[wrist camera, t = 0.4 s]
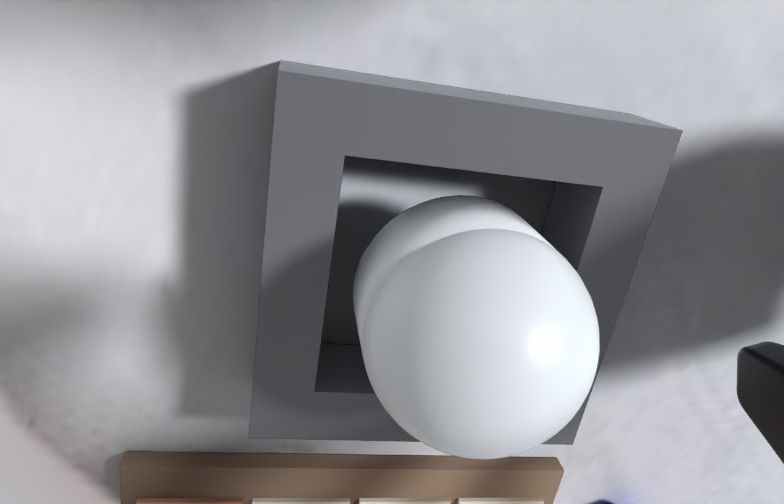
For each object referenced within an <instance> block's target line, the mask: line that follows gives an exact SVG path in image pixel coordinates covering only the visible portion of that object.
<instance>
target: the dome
mask: <svg viewBox="0 0 784 504" xmlns="http://www.w3.org/2000/svg"><path fill="white" fill-rule="evenodd" d="M353 306H354V312H355V317H356V323H357V328H358V333H359V339H360V344H361V349H362V355H363V359H364V364H365V368H366V372H367V375H368V378H369V380H370V383H371V385H372V388H373V390H374V392H375V394H376V395H377V397H378V399H379V400H380V402H381V404H382V405H383V407H384V409H385V410H386V411H387V412H388V413H389V414H390V416H391V417H392V418H393V419H394V420H395V421H396V422H397V424H398V425H399V426H401V427H402V428H403V429H404V430H405V431H406V432H407V433H409V434H410V435H412V436H413V437H414V438H416V439H418V440H419V441H421V442H422V443H424V444H425V445H428V446H430V447H432V448H434V449H436V450H439V451H441V452H444V453H447V454H450V455H453V456H458V457H463V458H472V459H497V458H504V457H509V456H513V455H517V454H519V453H522V452H525V451H528V450H530V449H532V448H534V447H536V446H538V445H540V444H542V443H543V442H545V441H547V440H548V439H550V438H551V437H553V436H554V435H555V434H557V433H558V432H559V431H560V430H561V429H562V428H564V427H565V426H566V425H567V424H568V422H569V421H570V420H571V419H572V418H573V417H574V416H575V414H576V413H577V411H578V410H579V409H580V407H581V405H582V404H583V402H584V400H585V398H586V397H587V395H588V393H589V391H590V388H591V386H592V384H593V381H594V377H595V374H596V370H597V365H598V359H599V352H600V348H599V326H598V320H597V316H596V312H595V308H594V305H593V302H592V299H591V296H590V294H589V293H588V291H587V289H586V287H585V285H584V283H583V281H582V279H581V277H580V276H579V275H578V273H577V272H576V271H575V269H574V268H573V267H572V265H571V264H570V263H569V262H568V261H567V260H566V258H564V257H563V256H562V255H561V254H560V253H559V252H558V251H557V250H556V249H555V248H554V247H553V246H552V245H551V244H550V243H549V242H547V241H546V240H545V239H544V238H543V237H542V236H541V235H540V234H539V233H538V232H537V231H536V230H535V229H534V228H532V227H531V226H530V225H529V224H528V223H527V222H526V221H525V220H524V219H523V218H522V217H521V216H520V215H519V214H517V213H516V212H514V211H513V210H511V209H510V208H508V207H506V206H504V205H502V204H500V203H498V202H496V201H493V200H490V199H486V198H482V197H476V196H465V195H456V196H445V197H440V198H436V199H431V200H429V201H426V202H423V203H420V204H418V205H415V206H413V207H411V208H409V209H407V210H405V211H404V212H402V213H401V214H399V215H398V216H396V217H395V218H393V219H392V220H391V221H390V222H389V223H388V224H386V225H385V226H384V227H383V228H382V229H381V230H380V231H379V232H378V233H377V235H376V236H375V237H374V238H373V239H372V241H371V242H370V244H369V245H368V246H367V248H366V250H365V252H364V254H363V255H362V257H361V259H360V262H359V265H358V267H357V270H356V274H355V279H354V284H353Z"/></svg>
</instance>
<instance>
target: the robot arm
mask: <svg viewBox="0 0 784 504" xmlns="http://www.w3.org/2000/svg"><path fill="white" fill-rule="evenodd" d="M737 395H738V399H739V402H740V404H741V406H742V407H743V409H744V410H745V412H746V413H747V414H748V416H749V417H750V419H751V420H752V421H753V423H754V424H755V425H756V427H757V428H758V429H759V431H760V432H761V434H762V435H763V436H764V438H765V439H766V440H767V442H768V443H769V444H770V446H771V447H772V448H773V450H774V451H775V453H776V454H777V455H778V457H779V458H780V459H781V461H782V462H783V463H784V345H781V344H778V343H774V342H762V343H758V344H754V345H751V346H747V347H744V348H742V349H741V350H740V351H739V353H738V358H737Z"/></svg>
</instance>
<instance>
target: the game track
mask: <svg viewBox="0 0 784 504" xmlns="http://www.w3.org/2000/svg"><path fill="white" fill-rule="evenodd" d="M563 473H564V469H563V468H562V466H561V464H560V462H559V461H558V459H557V458H546V457H504V458H497V459H472V458H463V457H458V456H406V455H336V454H265V453H195V452H125V455H124V457H123V460H122V463H121V465H120V487H121V504H553V501H554V498H555V496H556V493H557V490H558V487H559V484H560V481H561V479H562V476H563Z"/></svg>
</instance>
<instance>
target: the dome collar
mask: <svg viewBox="0 0 784 504" xmlns="http://www.w3.org/2000/svg"><path fill="white" fill-rule="evenodd" d="M682 132H683V130H679V129H676V128H673V127H670V126H667V125H664V124H661V123H657V122H654V121H651V120H648V119H645V118H642V117H639V116H635V115H632V114H629V113H622V112H616V111H609V110H603V109H596V108H589V107H583V106H576V105H570V104H563V103H557V102H550V101H544V100H537V99H531V98H524V97H517V96H511V95H504V94H498V93H491V92H485V91H478V90H472V89H465V88H459V87H452V86H446V85H439V84H432V83H426V82H419V81H413V80H406V79H400V78H393V77H387V76H380V75H374V74H367V73H360V72H354V71H347V70H341V69H334V68H328V67H321V66H315V65H308V64H302V63H295V62H288V61H282V60H281V62H280V65H279V68H278V73H277V85H276V98H275V110H274V123H273V136H272V148H271V161H270V173H269V186H268V199H267V211H266V224H265V236H264V249H263V262H262V274H261V287H260V299H259V312H258V324H257V337H256V350H255V362H254V375H253V387H252V400H251V413H250V425H249V438H258V439H309V440H360V441H412V442H421V441H419V440H418V439H416V438H414V437H413V436H412V435H410V434H409V433H407V432H406V431H405V430H404V429H403V428H402V427H401V426H399V425H398V424H397V422H396V421H395V420H394V419H393V418H392V417H391V416H390V414H389V413H388V412H387V411H386V410H385V409H384V407H383V405H382V404H381V402H380V400H379V399H378V397H377V395H376V394H375V392H374V390H373V388H372V385H371V383H370V380H369V378H368V375H367V372H366V368H365V364H364V359H363V355H362V349H361V345H344V344H325V343H321V336H322V328H323V320H324V312H325V305H326V297H327V289H328V281H329V274H330V266H331V258H332V250H333V243H334V235H335V227H336V220H337V212H338V204H339V196H340V189H341V181H342V173H343V165H344V158H345V155H346V156H354V157H362V158H370V159H379V160H387V161H395V162H403V163H411V164H420V165H428V166H436V167H444V168H452V169H461V170H469V171H477V172H485V173H493V174H501V175H510V176H518V177H526V178H534V179H542V180H551V181H557V182H556V185H555V189H554V192H553V196H552V200H551V203H550V207H549V210H548V214H547V218H546V221H545V225H544V228H543V232H542V237H543V238H544V239H545V240H546V241H547V242H549V243H550V244H551V245H552V246H553V247H554V248H555V249H556V250H557V251H558V252H559V253H560V254H561V255H562V256H563V257H564V258H566V260H567V261H568V262H569V263H570V264H571V265H572V267H573V268H574V269H575V271H576V272H577V273H578V275H579V276H580V277H581V279H582V281H583V283H584V285H585V287H586V289H587V291H588V293H589V294H590V296H591V299H592V302H593V305H594V308H595V312H596V316H597V320H598V326H599V348H600V352H599V359H598V365H597V370H596V374H595V377H594V381H593V384H592V386H591V388H590V391H589V393H588V395H587V397H586V398H585V400H584V402H583V404H582V405H581V407H580V409H579V410H578V411H577V413H576V414H575V416H574V417H573V418H572V419H571V420H570V421H569V422H568V424H567V425H566V426H565V427H564V428H562V429H561V430H560V431H559V432H558V433H557V434H555V435H554V436H553V437H551V438H550V439H548V440H547V441H545V442H543V443H542V444H566V445H573V442H574V439H575V436H576V433H577V430H578V428H579V425H580V422H581V419H582V416H583V413H584V411H585V408H586V405H587V402H588V399H589V396H590V393H591V391H592V388H593V385H594V382H595V379H596V376H597V374H598V371H599V368H600V365H601V362H602V359H603V356H604V354H605V351H606V348H607V345H608V342H609V339H610V337H611V334H612V331H613V328H614V325H615V322H616V319H617V317H618V314H619V311H620V308H621V305H622V302H623V300H624V297H625V294H626V291H627V288H628V285H629V282H630V280H631V277H632V274H633V271H634V268H635V265H636V263H637V260H638V257H639V254H640V251H641V248H642V245H643V243H644V240H645V237H646V234H647V231H648V228H649V226H650V223H651V220H652V217H653V214H654V211H655V208H656V206H657V203H658V200H659V197H660V194H661V191H662V189H663V186H664V183H665V180H666V177H667V174H668V171H669V169H670V166H671V163H672V160H673V157H674V154H675V152H676V149H677V146H678V143H679V140H680V137H681V134H682Z"/></svg>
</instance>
